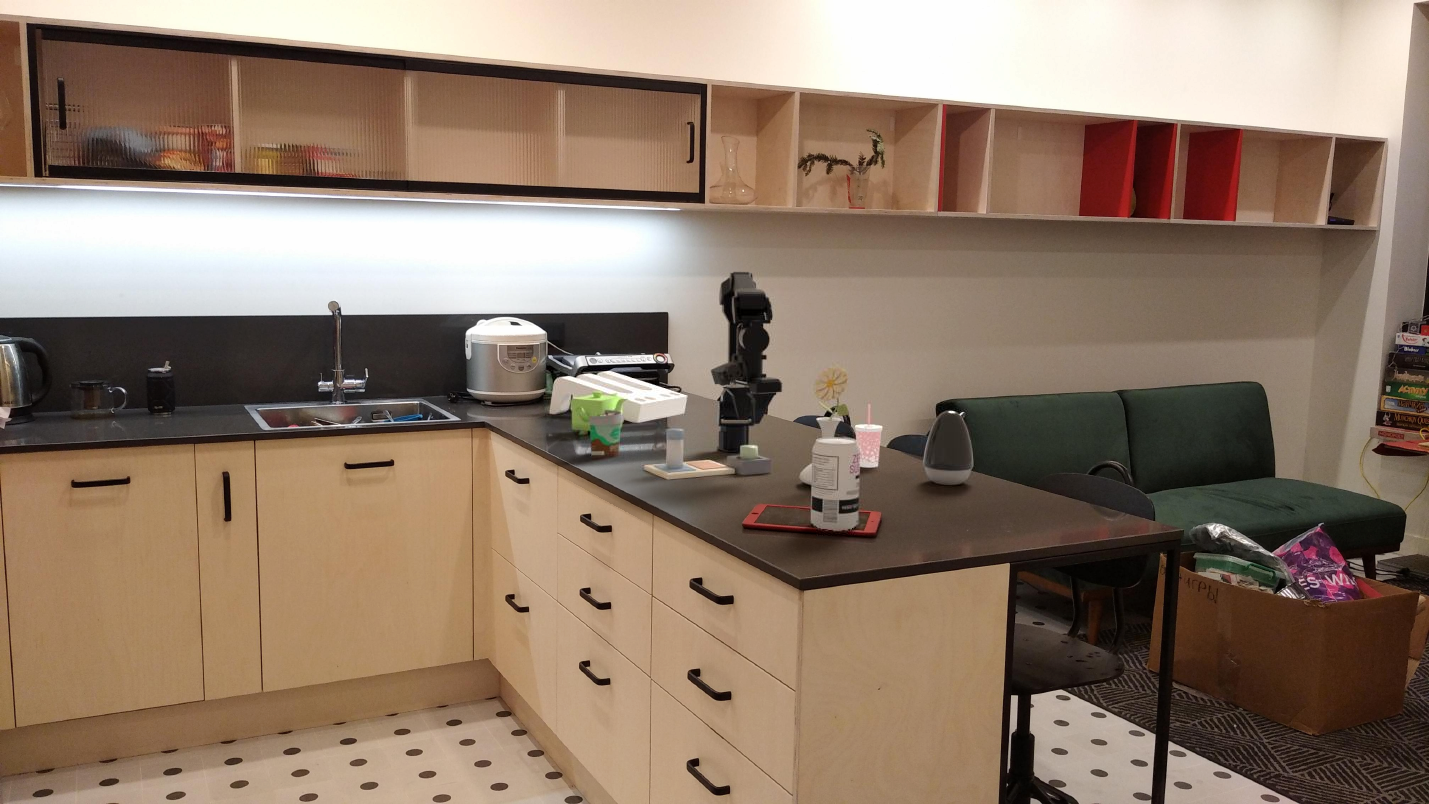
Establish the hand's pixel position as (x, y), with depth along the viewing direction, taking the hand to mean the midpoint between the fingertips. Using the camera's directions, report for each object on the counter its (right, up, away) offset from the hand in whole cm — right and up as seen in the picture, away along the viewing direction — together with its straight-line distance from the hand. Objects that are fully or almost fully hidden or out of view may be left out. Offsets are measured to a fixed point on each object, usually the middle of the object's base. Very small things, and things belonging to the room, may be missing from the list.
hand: (748, 421), depth 235 cm
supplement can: (+13, -17, -48) cm, 52 cm away
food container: (-32, -9, +20) cm, 38 cm away
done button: (0, -9, +1) cm, 9 cm away
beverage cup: (+27, -10, +10) cm, 31 cm away
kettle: (-38, -4, +52) cm, 65 cm away
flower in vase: (+16, -13, -14) cm, 25 cm away
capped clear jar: (-16, -10, -1) cm, 19 cm away
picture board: (-13, -11, 0) cm, 17 cm away
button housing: (0, -11, +1) cm, 11 cm away
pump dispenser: (+41, -13, -9) cm, 44 cm away
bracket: (-36, 0, +91) cm, 98 cm away
